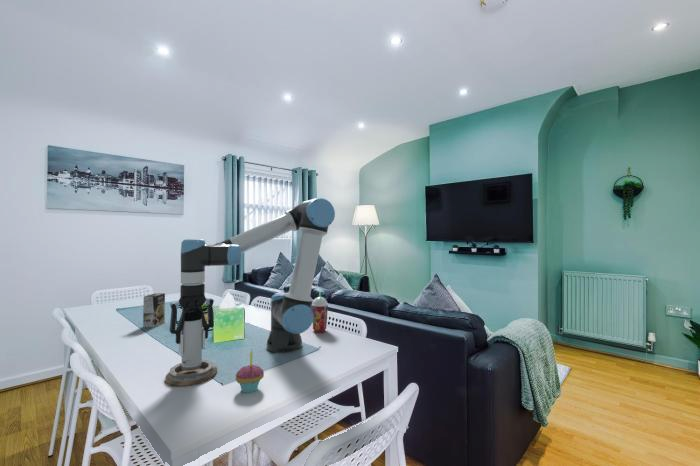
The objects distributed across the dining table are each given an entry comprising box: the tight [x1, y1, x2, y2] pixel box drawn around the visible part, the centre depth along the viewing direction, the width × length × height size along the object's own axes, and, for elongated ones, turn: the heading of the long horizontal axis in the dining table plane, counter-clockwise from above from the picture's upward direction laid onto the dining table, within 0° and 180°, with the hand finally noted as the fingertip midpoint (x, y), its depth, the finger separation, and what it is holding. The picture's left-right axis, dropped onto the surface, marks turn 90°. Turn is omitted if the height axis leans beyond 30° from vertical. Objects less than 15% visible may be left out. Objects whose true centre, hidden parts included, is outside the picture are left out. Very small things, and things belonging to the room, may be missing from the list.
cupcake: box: [235, 348, 265, 394], centre depth 101 cm, size 9×8×12 cm
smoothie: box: [311, 291, 329, 334], centre depth 162 cm, size 8×8×20 cm
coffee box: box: [142, 292, 166, 328], centre depth 170 cm, size 9×6×16 cm
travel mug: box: [181, 310, 203, 371], centre depth 111 cm, size 6×7×20 cm
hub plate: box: [164, 359, 218, 387], centre depth 111 cm, size 16×16×3 cm
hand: (192, 350), depth 111 cm, fingers closed on travel mug, 6 cm apart
